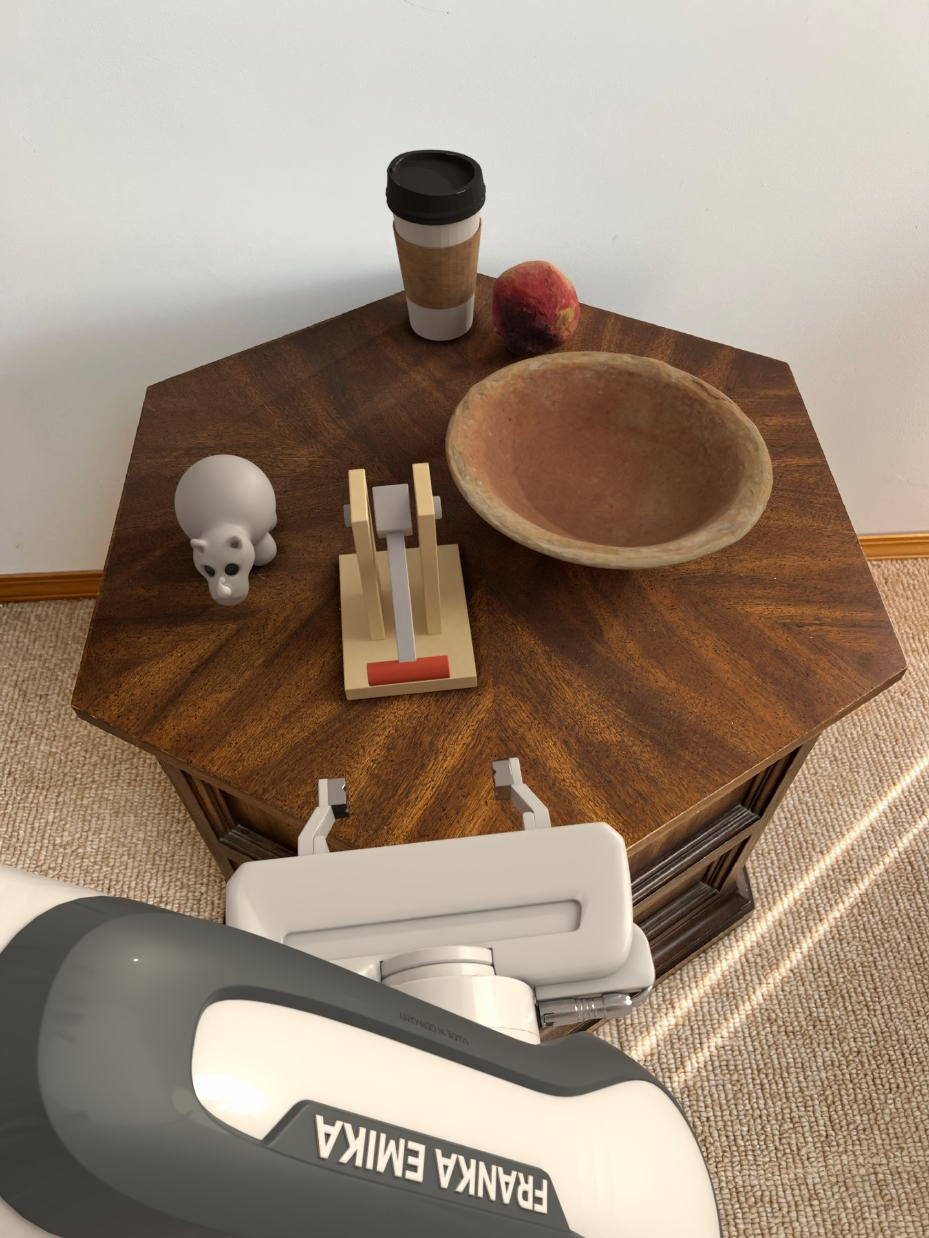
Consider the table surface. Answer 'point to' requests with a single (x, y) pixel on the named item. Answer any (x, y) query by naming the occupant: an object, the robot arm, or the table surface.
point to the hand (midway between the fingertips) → (419, 772)
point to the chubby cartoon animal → (227, 522)
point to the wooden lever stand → (431, 598)
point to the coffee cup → (437, 237)
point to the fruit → (534, 308)
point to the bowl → (608, 460)
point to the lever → (400, 594)
